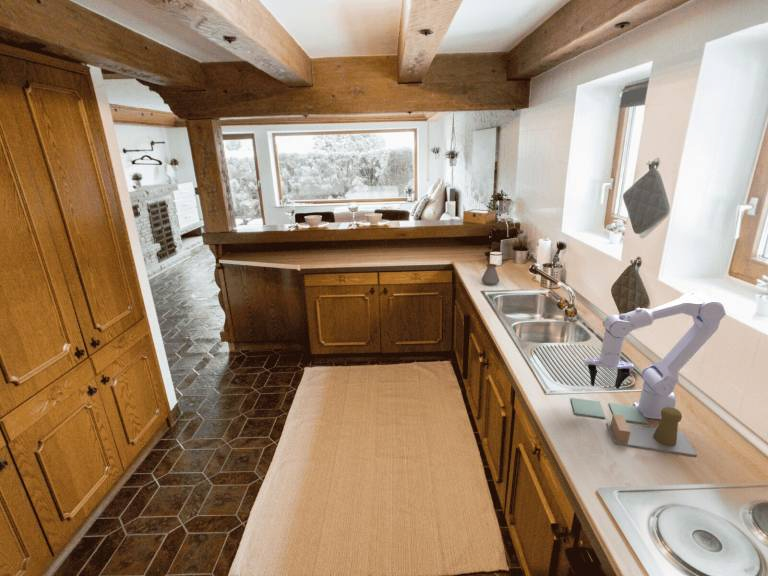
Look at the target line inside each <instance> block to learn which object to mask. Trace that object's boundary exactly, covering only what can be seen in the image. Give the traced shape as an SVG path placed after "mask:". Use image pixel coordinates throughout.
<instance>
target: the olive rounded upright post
mask: <svg viewBox="0 0 768 576" xmlns="http://www.w3.org/2000/svg"><path fill="white" fill-rule="evenodd" d="M661 416H662V418H661V419H659V420H660V421H659V423H658V425H657V426H656V428H655V429H656V431H655V433H654V435H653V438H654V439H655V440H656V441H657V442H658V443H660V444H662V445H665V446H675V445H676V442H677V432H678V427H679V422H681V421H682V418H683V415H682V412H681V411H680V410H678V409H677V408H675V407H674V408H672V407H665V408H663V409H662V410H661Z"/></svg>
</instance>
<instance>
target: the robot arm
mask: <svg viewBox="0 0 768 576" xmlns="http://www.w3.org/2000/svg"><path fill="white" fill-rule="evenodd" d="M680 314H684V315H688V316H691V317H692V320H693V325H692V326H690V328H689V330H687V331H686V333H685V334H684V335H683V336H682V337H681V338H680V339H679V341H677V343H676V344H675V345H674V346H673V347H672V348H671V349H670V350H669V352H668V353H667V354H666V355H665V356H664V357H663V358H662V359H661V360H659V361H657V360H656V361H653V362H652V363H651V364H650V365H648V366H646V367H645V368H643V369H642V371H641V373H640V375H641V379H642V380H643V383H642V384H643V385H642V388H641V391H640V397H639V401H638V402H636V401H634V402H633V404H634V405H633V406H636V407H638V408H637V409H638V411H639V413H640V412H641V413H643V415H644V417H645V419H654V420H661V418H662V416H661V410H662V409H663V408H665V407H672V408H675V407H676V400H677V399H676V395H675V392H674V391H675V388H676V386H677V384H678V383H679V382H680V381H679V371H681V369H682V368H684V366H685V365H686V364H688V362H689V361H690V360H692V358H693V357H694V356H695V354H696V353H697V352H699V350H700V349H701V348H702V347H703V346H704V345H705V344H706V342H707V341H708V340H710V338H711V337H712V336H713V335H714V334H715V333H716V331H718V328H719V326H720V323H721V321H722V320H723V318H724V317H725V316H726V314H727V313H726V310H725V307H724V305H723V304H722V303H721V302H719V301H717V300H715V299H713V298H711V296H708V295H706V294H705V293H704V292H702V291H699V290H698V291H697V290H696V291H692V292H689V293H685V294H683V295H682V296H681V297H679V298H677V299H675V300H672V301H669V302H667V303H664V304H662V305H659V306H658V305H657V306H656V307H653V308H650V309H647V308H645V307H642V308H640V307H636V308H635V310H632V311H629V312H626V313H619V315H618V314H611V315H609V316H607V317H606V318H605V319H604V320H603V321H602V326H603V327H604V334H603V338H602V339H603V340H602V345H601V350H600V355H599V356H600V357H594V358H585V357H584V363H583V364H584V366H585V367H587V368H588V372H589V376H590V385H591V386H592V387H594V386H595V384H596V377H597V374H598V369H597V368H598V367H600V368H606V369H607V370H609V371H615V370H617V373H616V378H615V382H614V384H615V387H616V390H617V389H618V390H619V389H620V387H621V385H622V384H623V382H625V380H626V379H627V378H629V377H630V375H631V372H633V371H634V368H635V365H634V363H632V362H626V361H622V360H620V359H621V354H622V349H623V345H624V339H625V338H626V337H627V336H628V335H629V334H630V332H632V331H636V330H638V329H641V328H644V327H648V326H652V325H653V323H654V321H655V320H659V319H664V318H668V317H672V316H675V315H676V316H677V315H680ZM641 413H640V414H641ZM643 415H642V414H641V416H643Z"/></svg>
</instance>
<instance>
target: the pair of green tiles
mask: <svg viewBox="0 0 768 576" xmlns="http://www.w3.org/2000/svg"><path fill="white" fill-rule="evenodd" d="M570 401H571V405H572V410H573V412H574V413H573V414H574V415H576V416H582V417H591V418H597V419H606V418H607V417H606V414H605V412H604V409H603V407H602V403H601V401H600V400H599V401H598V400H590V399H584V398H575V397H571V398H570ZM608 405H609V408H610V411H611V413H612V415H613V414H615V415H623V416H624V418H625V421H626V423H628V422H629V423H633V424H634V423H635V424H641V425H648V422H647V418H646V417H644V415H643V413H641V412H640V413H641V414H642V415H643V416H641V414H640V413H639V411H638V409H637V408H638V407H636V406H635V405H629V404H622V403H614V402H608Z"/></svg>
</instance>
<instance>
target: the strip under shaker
mask: <svg viewBox="0 0 768 576" xmlns="http://www.w3.org/2000/svg"><path fill="white" fill-rule="evenodd" d="M627 423H628V422H626V421H625V418H624V416H623V415H615V414H613V413H612V418H611V421H609V422H608V421H606V425H607V429H608V431H609V434H610V437H611V439H612V443H613V444H614V445H618V446H625V447H632V448H638V449H645V450H651V451H658V452H665V453H670V454H678V455H684V456H691V457H697V456H698V454H697V452H696V451H695V449H694V448H693V446H692V445H691V443H690V441H689V440H688V438H687V436H686V434H685V433H684V432H682V431H677V442H676V445H675V446H665V445H662V444H660V443H658V442H657V441H656V440H655V439H654V438H653V435H654V433H655V431H656V429H657V428H653V427H646V426H640V425H639V426H638V425H634V424H633V425H632V424H627Z"/></svg>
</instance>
